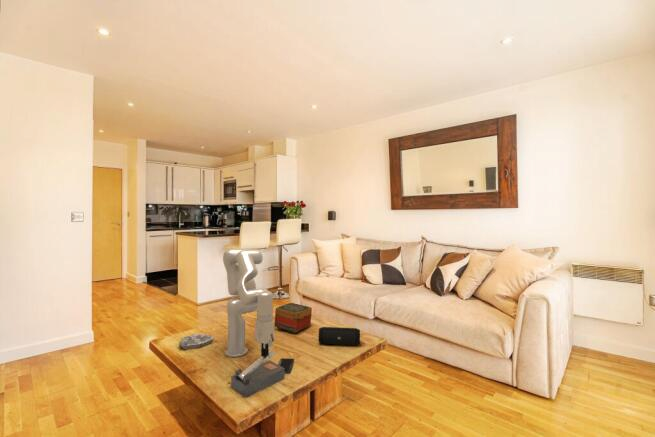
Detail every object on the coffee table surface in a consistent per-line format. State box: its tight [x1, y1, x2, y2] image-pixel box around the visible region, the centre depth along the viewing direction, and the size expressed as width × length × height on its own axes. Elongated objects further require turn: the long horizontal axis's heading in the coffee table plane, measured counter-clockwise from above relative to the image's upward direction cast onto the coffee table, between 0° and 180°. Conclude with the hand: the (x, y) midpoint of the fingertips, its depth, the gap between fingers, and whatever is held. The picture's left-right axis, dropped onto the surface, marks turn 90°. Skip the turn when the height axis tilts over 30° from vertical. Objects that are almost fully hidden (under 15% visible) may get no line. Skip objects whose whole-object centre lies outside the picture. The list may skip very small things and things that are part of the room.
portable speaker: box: [318, 326, 361, 346], centre depth 192 cm, size 26×10×10 cm, turn 86°
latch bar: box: [237, 349, 276, 380], centre depth 145 cm, size 18×5×2 cm, turn 137°
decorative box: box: [273, 302, 313, 334], centre depth 216 cm, size 20×22×16 cm
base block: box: [230, 359, 286, 398], centre depth 146 cm, size 22×12×8 cm, turn 138°
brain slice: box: [178, 333, 214, 350], centre depth 189 cm, size 20×17×3 cm
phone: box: [278, 357, 295, 375], centre depth 162 cm, size 8×1×15 cm
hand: (264, 355), depth 148 cm, fingers closed
